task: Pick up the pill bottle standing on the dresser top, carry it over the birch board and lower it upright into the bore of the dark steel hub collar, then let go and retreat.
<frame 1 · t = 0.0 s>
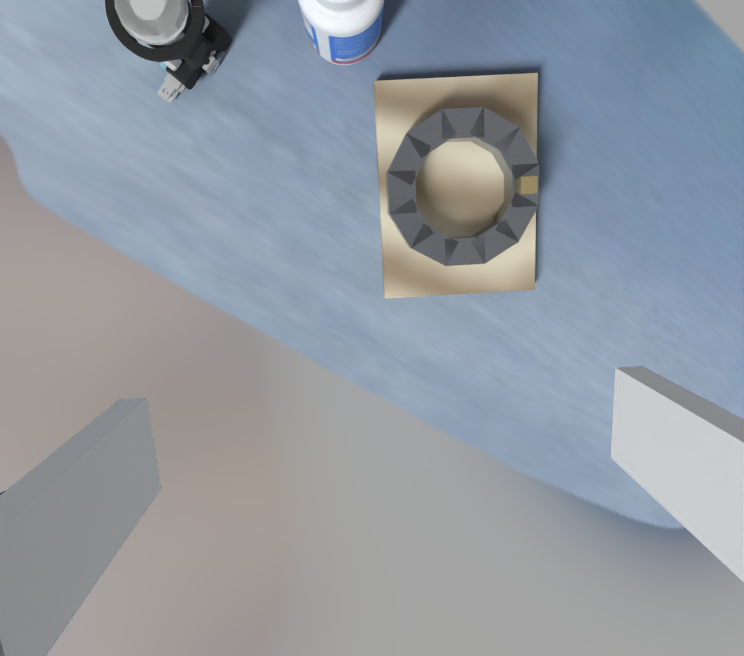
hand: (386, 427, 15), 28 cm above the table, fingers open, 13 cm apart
board: (455, 190, 40), on the table
hub: (462, 189, 38), on the board, point 2 cm above the table
pill bottle: (343, 27, 38), on the table
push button: (195, 64, 38), on the table
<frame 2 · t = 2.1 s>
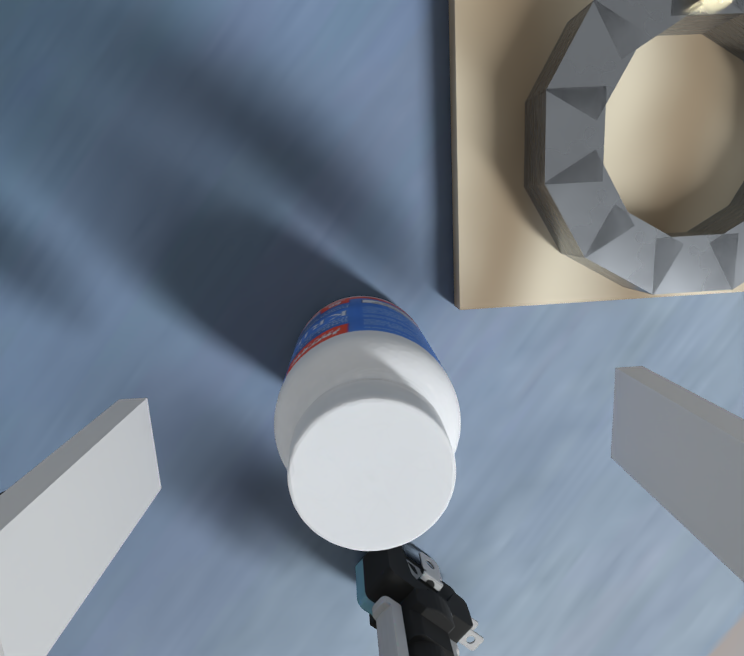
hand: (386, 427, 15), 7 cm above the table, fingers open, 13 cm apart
board: (653, 141, 20), on the table
hub: (694, 132, 18), on the board, point 2 cm above the table
pill bottle: (359, 357, 22), on the table
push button: (416, 581, 24), on the table
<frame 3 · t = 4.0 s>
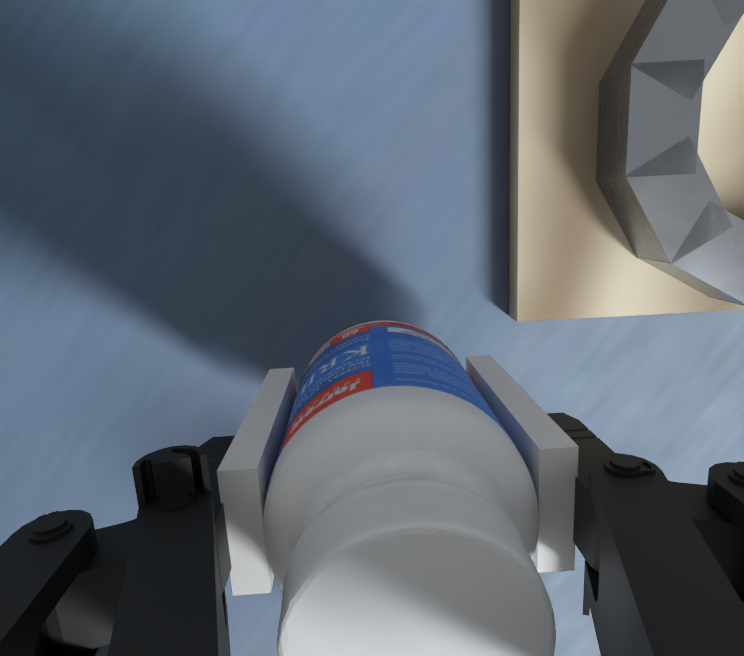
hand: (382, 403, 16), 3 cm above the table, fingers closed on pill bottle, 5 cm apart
pill bottle: (381, 397, 17), point 2 cm above the table, touching gripper
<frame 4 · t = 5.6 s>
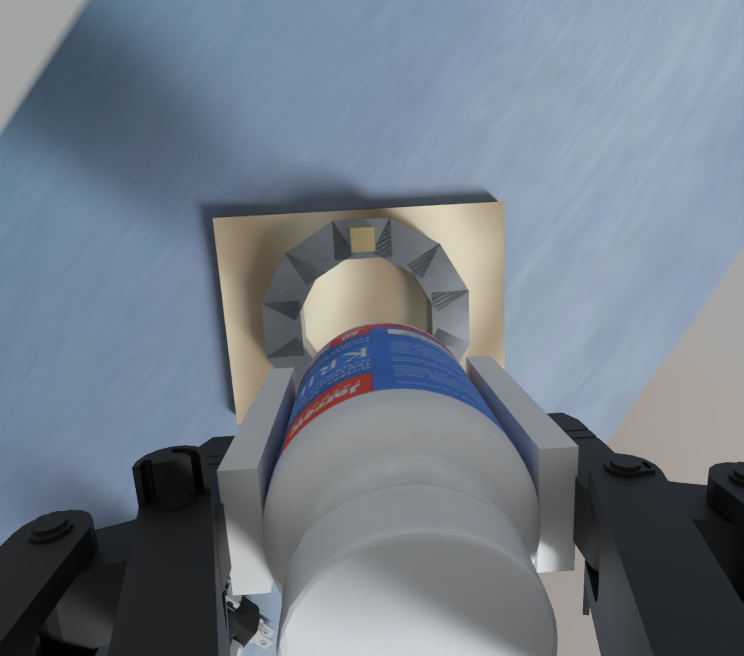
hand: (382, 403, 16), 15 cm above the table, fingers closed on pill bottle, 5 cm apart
board: (365, 313, 31), on the table
hub: (366, 321, 28), on the board, point 2 cm above the table
pill bottle: (381, 399, 17), point 14 cm above the table, touching gripper
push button: (232, 600, 35), on the table
when the fingers open (4 cm above the table, at t = 7.3 s): pill bottle drops 2 cm, resting on board.
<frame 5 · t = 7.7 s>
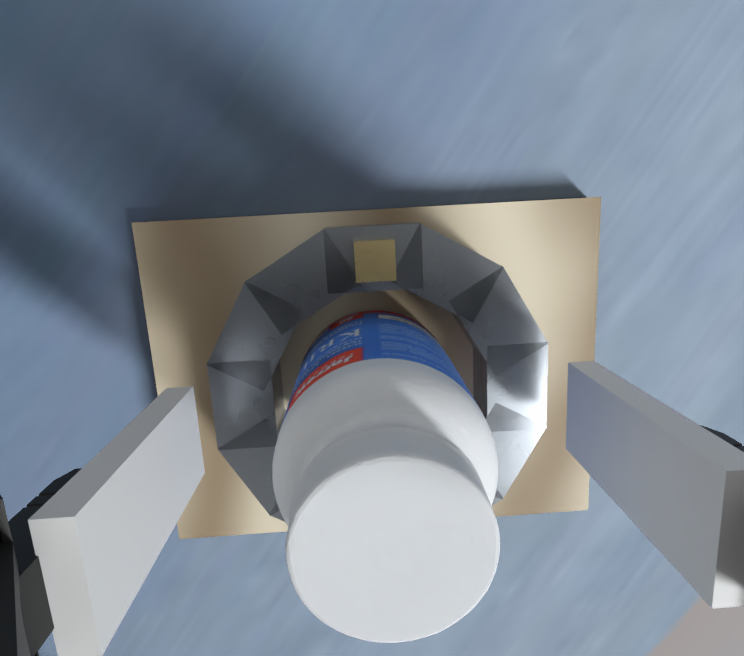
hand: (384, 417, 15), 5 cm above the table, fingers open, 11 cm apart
board: (376, 369, 20), on the table
hub: (380, 390, 18), on the board, point 2 cm above the table
pill bottle: (373, 378, 19), point 1 cm above the table, touching board
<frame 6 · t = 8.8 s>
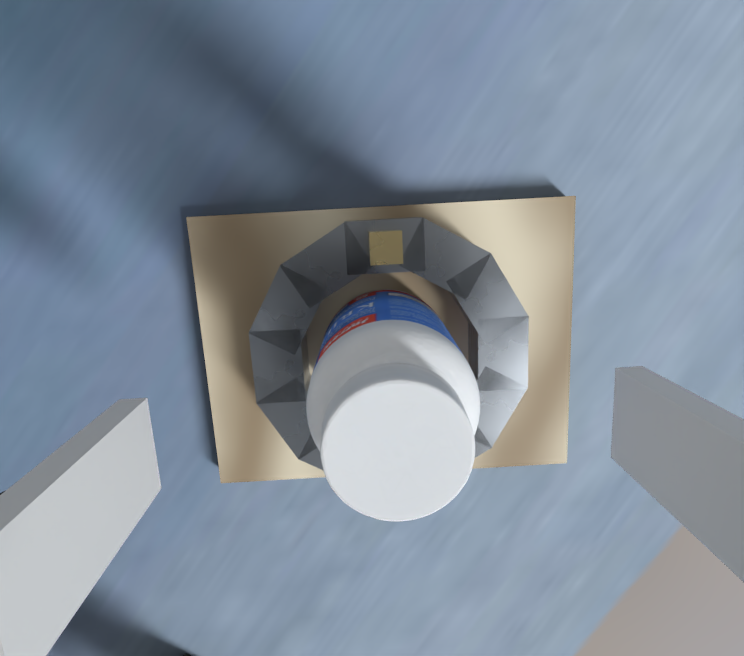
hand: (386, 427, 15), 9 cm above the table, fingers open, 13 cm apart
board: (387, 341, 24), on the table
hub: (389, 356, 21), on the board, point 2 cm above the table
pill bottle: (384, 348, 23), point 1 cm above the table, touching board
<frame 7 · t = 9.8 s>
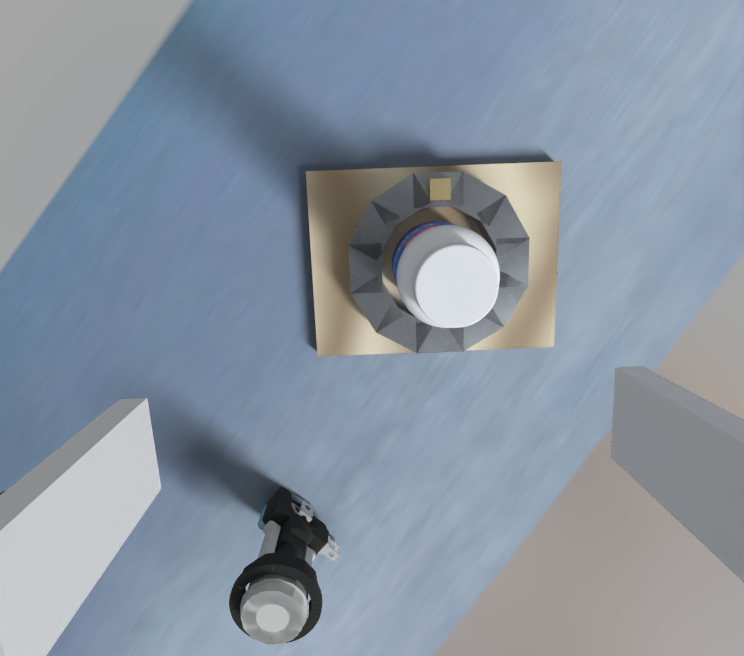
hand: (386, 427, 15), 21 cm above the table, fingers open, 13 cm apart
board: (432, 261, 35), on the table
hub: (437, 264, 32), on the board, point 2 cm above the table
pill bottle: (431, 263, 34), point 1 cm above the table, touching board
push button: (302, 519, 39), on the table
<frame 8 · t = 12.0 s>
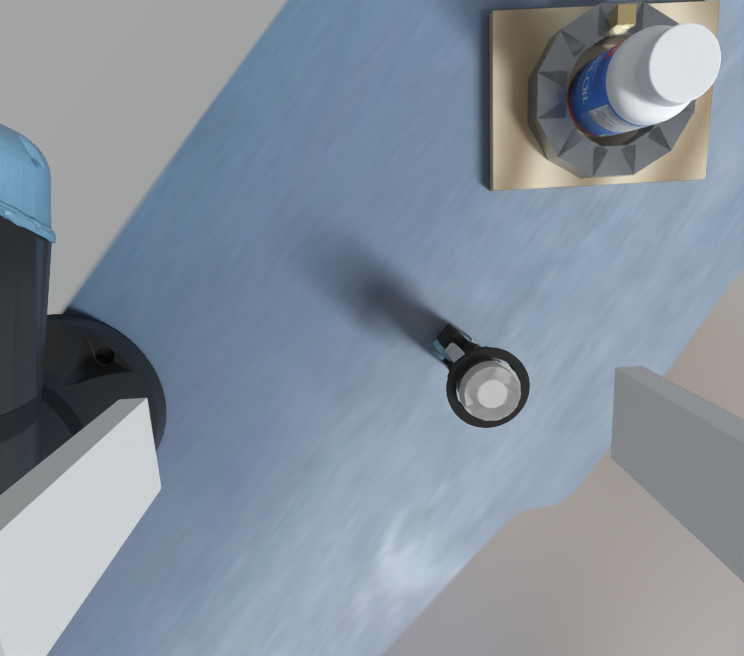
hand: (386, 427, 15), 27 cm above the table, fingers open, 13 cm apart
board: (596, 101, 38), on the table
hub: (613, 93, 36), on the board, point 2 cm above the table
pill bottle: (599, 99, 37), point 1 cm above the table, touching board
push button: (465, 356, 42), on the table
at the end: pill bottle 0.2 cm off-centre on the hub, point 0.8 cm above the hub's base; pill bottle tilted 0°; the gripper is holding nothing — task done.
